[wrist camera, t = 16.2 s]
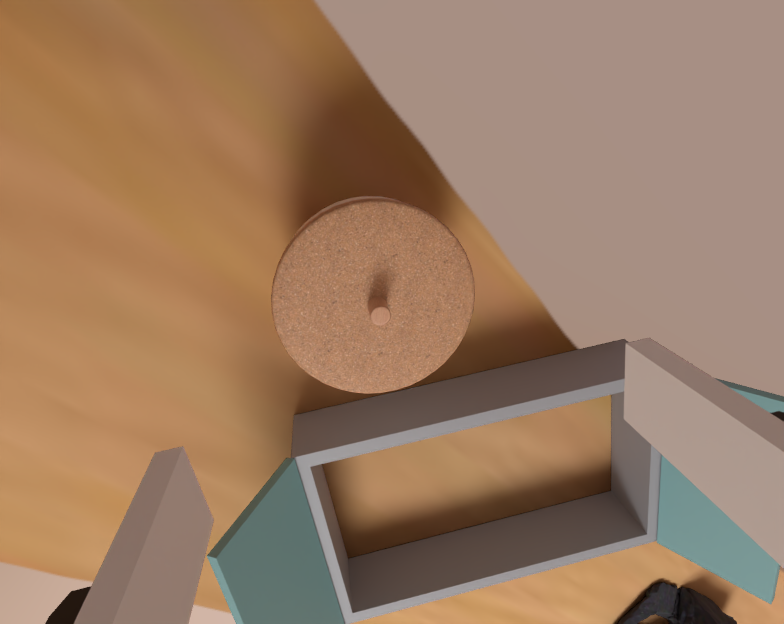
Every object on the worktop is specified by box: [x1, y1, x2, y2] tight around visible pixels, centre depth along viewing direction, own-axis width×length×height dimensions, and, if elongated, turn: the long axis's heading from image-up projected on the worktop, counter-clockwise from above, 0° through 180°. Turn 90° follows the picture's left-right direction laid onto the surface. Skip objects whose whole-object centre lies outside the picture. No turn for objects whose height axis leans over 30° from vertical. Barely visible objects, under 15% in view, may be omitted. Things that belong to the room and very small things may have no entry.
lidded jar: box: [271, 196, 475, 394], centre depth 28 cm, size 11×11×9 cm
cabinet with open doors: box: [207, 339, 784, 624], centre depth 34 cm, size 34×16×12 cm, turn 100°
